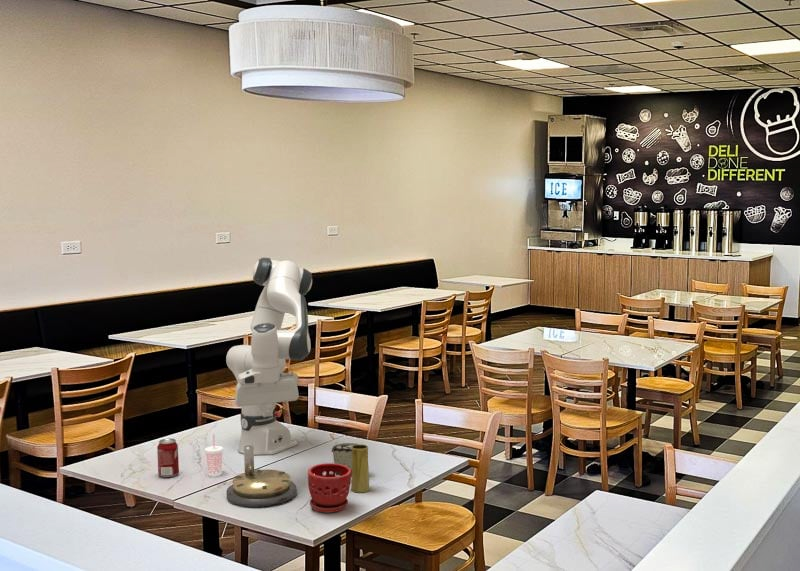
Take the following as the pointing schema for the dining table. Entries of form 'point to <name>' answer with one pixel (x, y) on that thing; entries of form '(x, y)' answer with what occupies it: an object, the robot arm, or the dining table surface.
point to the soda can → (168, 458)
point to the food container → (343, 455)
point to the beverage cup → (214, 459)
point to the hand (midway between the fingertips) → (267, 416)
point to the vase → (360, 469)
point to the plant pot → (329, 487)
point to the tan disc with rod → (259, 480)
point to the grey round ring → (261, 502)
